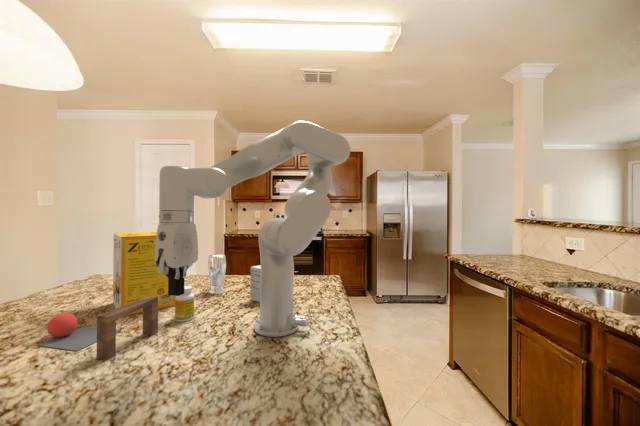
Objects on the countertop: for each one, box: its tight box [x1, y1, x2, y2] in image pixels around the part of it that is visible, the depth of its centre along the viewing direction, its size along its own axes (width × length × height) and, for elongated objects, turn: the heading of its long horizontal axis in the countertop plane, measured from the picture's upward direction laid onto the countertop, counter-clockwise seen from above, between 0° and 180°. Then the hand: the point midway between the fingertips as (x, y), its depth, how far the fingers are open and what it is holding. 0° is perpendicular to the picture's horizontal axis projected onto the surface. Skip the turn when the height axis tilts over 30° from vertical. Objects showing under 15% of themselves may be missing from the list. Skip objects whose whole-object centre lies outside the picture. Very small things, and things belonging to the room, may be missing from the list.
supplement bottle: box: [174, 285, 195, 322], centre depth 90 cm, size 5×5×10 cm
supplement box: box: [249, 264, 261, 304], centre depth 110 cm, size 7×7×13 cm
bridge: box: [96, 296, 159, 361], centre depth 73 cm, size 3×15×10 cm, turn 168°
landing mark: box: [36, 325, 121, 352], centre depth 76 cm, size 12×12×1 cm
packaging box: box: [112, 231, 176, 317], centre depth 102 cm, size 16×16×25 cm
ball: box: [46, 312, 78, 338], centre depth 76 cm, size 6×6×6 cm
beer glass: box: [207, 253, 227, 295], centre depth 119 cm, size 7×7×15 cm
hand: (176, 294), depth 70 cm, fingers closed
